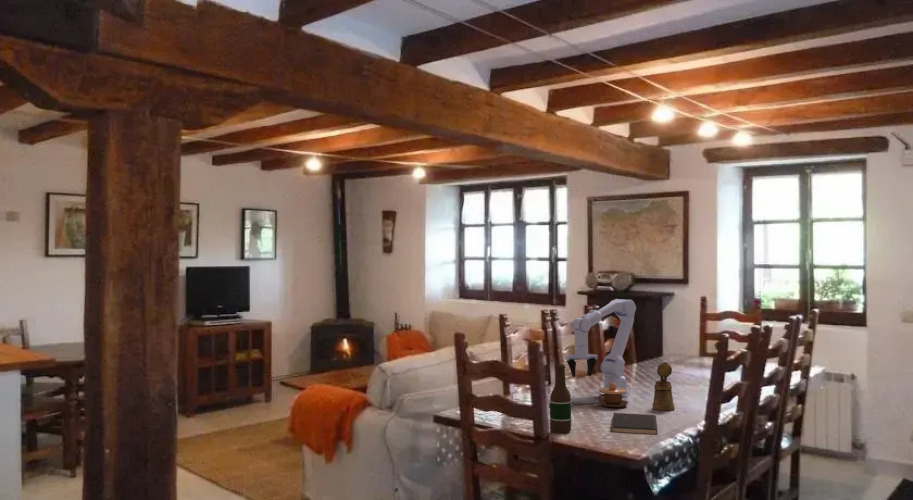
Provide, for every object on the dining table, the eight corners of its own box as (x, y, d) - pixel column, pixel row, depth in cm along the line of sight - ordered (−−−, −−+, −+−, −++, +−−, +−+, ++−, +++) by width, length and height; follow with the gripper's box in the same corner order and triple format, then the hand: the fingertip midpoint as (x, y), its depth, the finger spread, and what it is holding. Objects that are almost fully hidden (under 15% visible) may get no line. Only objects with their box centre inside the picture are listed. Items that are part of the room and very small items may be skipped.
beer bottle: (547, 428, 262) (547, 363, 262) (568, 428, 262) (568, 363, 263) (552, 434, 254) (552, 366, 254) (573, 433, 255) (573, 366, 255)
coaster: (589, 397, 317) (589, 396, 317) (601, 403, 305) (601, 402, 305) (564, 399, 314) (564, 398, 314) (575, 405, 302) (575, 404, 302)
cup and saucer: (611, 410, 292) (611, 395, 292) (592, 405, 303) (592, 390, 303) (633, 407, 298) (633, 392, 298) (614, 402, 308) (614, 388, 308)
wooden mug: (676, 405, 301) (676, 362, 301) (673, 411, 289) (673, 367, 289) (654, 403, 304) (654, 361, 304) (651, 410, 292) (650, 366, 292)
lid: (608, 388, 308) (608, 379, 308) (630, 391, 300) (630, 383, 300) (594, 391, 300) (594, 383, 300) (616, 395, 292) (616, 386, 292)
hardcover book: (611, 433, 257) (611, 426, 257) (613, 418, 279) (613, 412, 279) (657, 435, 253) (657, 429, 253) (656, 420, 275) (656, 414, 275)
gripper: (592, 343, 319) (592, 373, 319) (562, 344, 315) (562, 375, 315) (599, 345, 312) (599, 376, 312) (569, 346, 308) (569, 378, 308)
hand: (581, 376), depth 313 cm, fingers open, 7 cm apart
